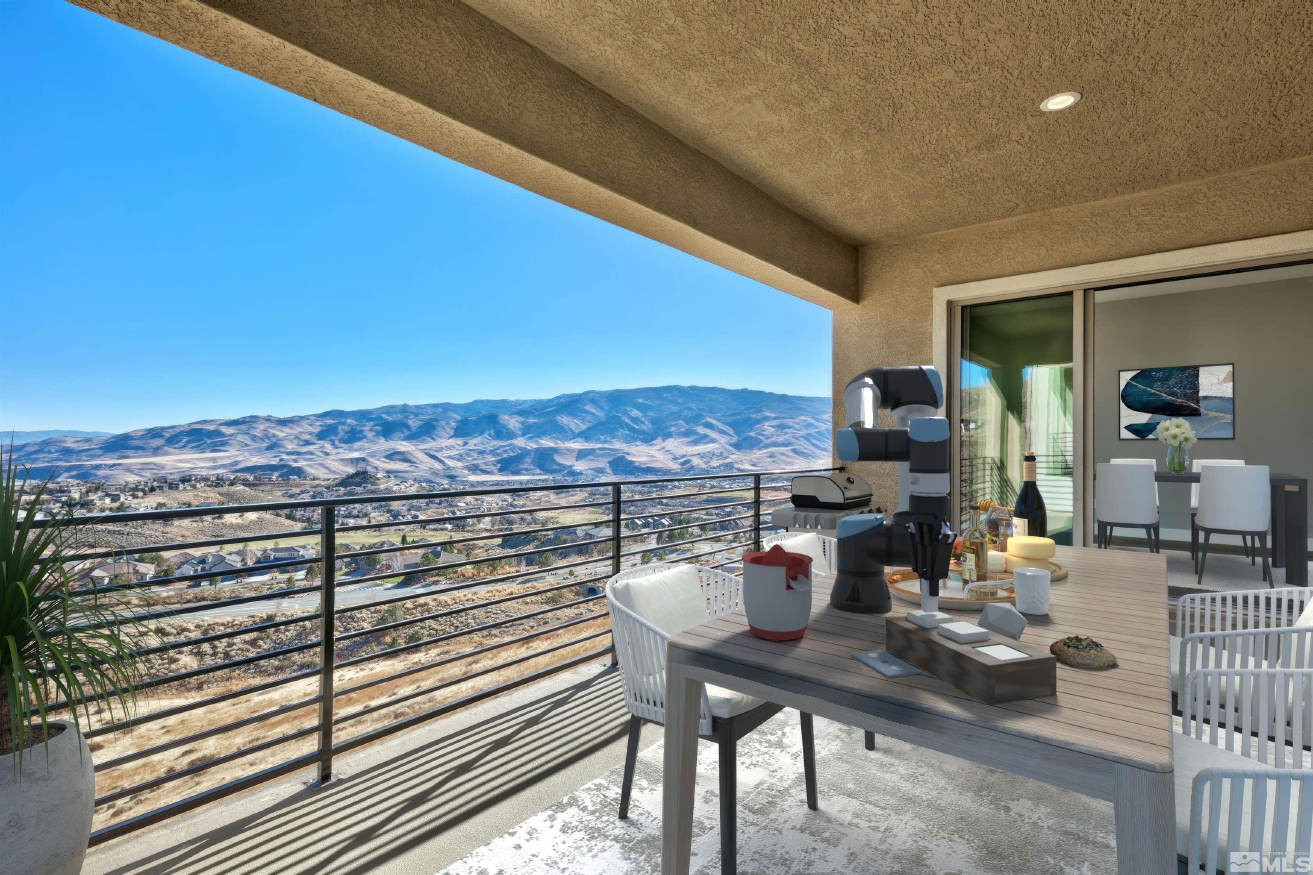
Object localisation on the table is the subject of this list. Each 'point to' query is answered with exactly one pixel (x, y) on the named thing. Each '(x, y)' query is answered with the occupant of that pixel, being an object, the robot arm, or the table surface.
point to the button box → (974, 662)
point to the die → (1003, 620)
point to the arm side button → (928, 618)
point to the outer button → (1002, 652)
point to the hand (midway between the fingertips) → (929, 611)
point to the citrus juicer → (777, 593)
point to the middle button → (963, 632)
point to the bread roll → (1082, 652)
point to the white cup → (1032, 590)
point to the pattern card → (885, 663)
